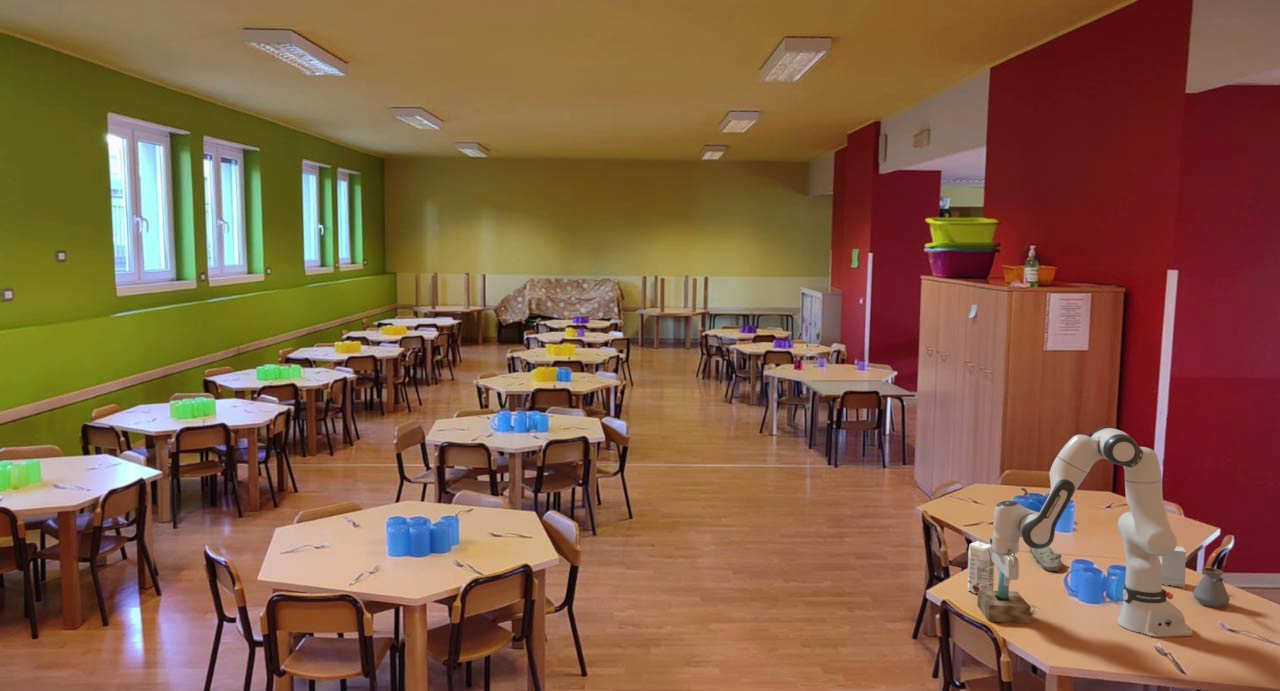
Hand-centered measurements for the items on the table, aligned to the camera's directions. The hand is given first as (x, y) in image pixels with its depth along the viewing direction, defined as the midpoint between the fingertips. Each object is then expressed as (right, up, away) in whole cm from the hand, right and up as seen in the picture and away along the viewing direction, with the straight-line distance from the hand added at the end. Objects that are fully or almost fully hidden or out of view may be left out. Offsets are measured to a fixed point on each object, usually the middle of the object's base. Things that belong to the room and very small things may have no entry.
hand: (1004, 582), depth 311 cm
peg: (0, -5, +1) cm, 5 cm away
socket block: (0, -12, +1) cm, 12 cm away
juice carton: (0, -10, +22) cm, 24 cm away
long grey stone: (+43, -7, +60) cm, 74 cm away
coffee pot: (+80, -11, +6) cm, 81 cm away
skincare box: (+79, -9, +30) cm, 85 cm away
